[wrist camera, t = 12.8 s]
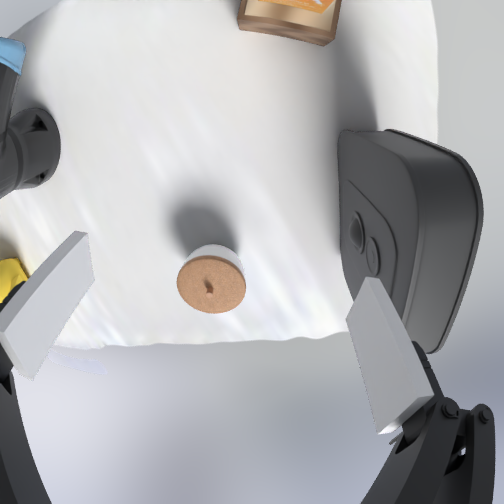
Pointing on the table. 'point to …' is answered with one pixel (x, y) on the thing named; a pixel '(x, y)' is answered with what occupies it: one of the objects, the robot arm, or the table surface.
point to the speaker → (409, 226)
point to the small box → (305, 4)
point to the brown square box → (289, 21)
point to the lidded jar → (212, 279)
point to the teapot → (10, 276)
